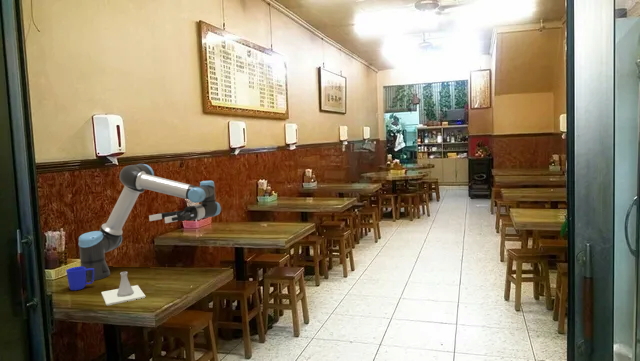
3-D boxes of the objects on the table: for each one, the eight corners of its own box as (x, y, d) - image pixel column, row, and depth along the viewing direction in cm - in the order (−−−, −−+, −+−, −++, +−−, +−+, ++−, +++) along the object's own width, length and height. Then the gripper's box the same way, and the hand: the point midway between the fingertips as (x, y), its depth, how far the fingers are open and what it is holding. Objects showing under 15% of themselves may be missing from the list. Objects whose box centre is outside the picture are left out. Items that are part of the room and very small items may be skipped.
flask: (115, 297, 205) (113, 275, 204) (119, 292, 212) (117, 271, 211) (132, 295, 206) (130, 274, 205) (135, 290, 213) (133, 269, 212)
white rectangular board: (101, 293, 214) (101, 292, 214) (137, 286, 222) (137, 285, 222) (106, 305, 197) (106, 304, 197) (145, 297, 205) (145, 296, 205)
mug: (94, 288, 222) (92, 268, 221) (66, 292, 218) (64, 272, 217) (97, 284, 230) (95, 264, 229) (70, 287, 226) (68, 267, 225)
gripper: (209, 221, 231) (172, 229, 215) (180, 218, 247) (144, 224, 230) (208, 206, 231) (171, 213, 214) (179, 204, 246) (142, 210, 230)
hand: (157, 219), depth 222 cm, fingers open, 13 cm apart
